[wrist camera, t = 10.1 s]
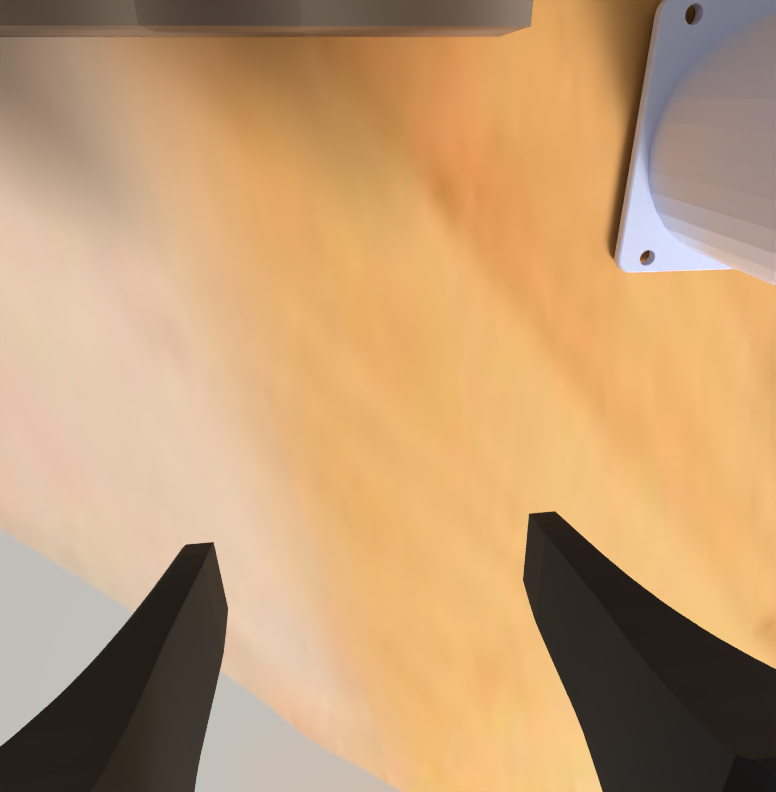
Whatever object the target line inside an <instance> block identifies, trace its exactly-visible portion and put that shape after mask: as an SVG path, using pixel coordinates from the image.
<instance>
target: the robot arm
mask: <svg viewBox="0 0 776 792" xmlns="http://www.w3.org/2000/svg"><path fill="white" fill-rule="evenodd" d="M690 6H693V7H694V9H695V18H694V21H693V22H692V23H691V24H688V23H687V21H686V20H685V14H686V11H687V9H688V8H689V7H690ZM647 250H649V257H648V259H647V260H646V261H645V262H642V263H640V257H641V254H642V253H643V252H645V251H647ZM615 263H616V265H617V267H619V268H620V269H621V270H623V271H625V272H660V271H689V270H718V269H737V270H739V271H741V272H744V273H746V274H748V275H751V276H753V277H755V278H758V279H760V280H762V281H765V282H767V283H769V284H772V285H774V286H776V0H663V1H662V2H661V3H660V5H659V6H658V7H657V10H656V13H655V17H654V23H653V29H652V35H651V41H650V47H649V53H648V59H647V65H646V71H645V77H644V83H643V89H642V95H641V101H640V107H639V113H638V119H637V125H636V131H635V137H634V143H633V149H632V155H631V161H630V167H629V173H628V179H627V185H626V191H625V197H624V203H623V209H622V215H621V221H620V227H619V233H618V239H617V245H616V251H615ZM523 582H524V585H525V589H526V592H527V596H528V599H529V602H530V606H531V609H532V612H533V615H534V618H535V621H536V624H537V626H538V629H539V631H540V633H541V636H542V638H543V640H544V642H545V645H546V647H547V649H548V652H549V654H550V656H551V658H552V661H553V663H554V665H555V667H556V670H557V672H558V674H559V676H560V679H561V681H562V683H563V685H564V688H565V690H566V692H567V695H568V697H569V699H570V701H571V704H572V706H573V708H574V710H575V713H576V715H577V718H578V720H579V723H580V725H581V728H582V730H583V733H584V736H585V739H586V742H587V745H588V748H589V751H590V754H591V757H592V760H593V763H594V766H595V769H596V772H597V775H598V778H599V781H600V784H601V788H602V791H603V792H776V669H774V668H772V667H770V666H769V665H767V664H765V663H763V662H761V661H759V660H757V659H755V658H753V657H751V656H749V655H748V654H746V653H744V652H742V651H740V650H739V649H737V648H735V647H733V646H732V645H730V644H728V643H726V642H724V641H723V640H721V639H719V638H718V637H716V636H714V635H713V634H711V633H709V632H708V631H706V630H704V629H703V628H701V627H700V626H698V625H697V624H695V623H693V622H692V621H690V620H689V619H687V618H686V617H684V616H683V615H681V614H680V613H678V612H677V611H675V610H674V609H672V608H671V607H669V606H668V605H667V604H665V603H664V602H662V601H661V600H659V599H658V598H657V597H656V596H654V595H653V594H652V593H650V592H649V591H648V590H646V589H645V588H644V587H642V586H641V585H640V584H638V583H637V582H636V581H634V580H633V579H632V578H631V577H629V576H628V575H627V574H626V573H624V572H623V571H622V570H621V569H620V568H618V567H617V566H616V565H615V564H614V563H612V562H611V561H610V560H609V559H608V558H607V557H605V556H604V555H603V554H602V553H601V552H600V551H598V550H597V549H596V548H595V547H594V546H593V545H592V544H591V543H589V542H588V541H587V540H586V539H585V538H584V537H583V536H582V535H581V534H579V533H578V532H577V531H576V530H575V529H574V528H573V527H572V526H571V525H570V524H568V523H567V522H566V521H565V520H564V519H563V518H562V517H561V516H560V515H558V514H557V513H556V512H543V513H532V514H529V521H528V532H527V543H526V554H525V565H524V576H523ZM227 615H228V606H227V602H226V597H225V593H224V588H223V583H222V579H221V574H220V570H219V565H218V560H217V556H216V551H215V547H214V542H211V543H200V544H188V545H185V546H184V547H183V548H182V549H181V551H180V552H179V554H178V555H177V556H176V558H175V559H174V561H173V562H172V563H171V565H170V566H169V567H168V569H167V570H166V572H165V573H164V574H163V576H162V577H161V578H160V580H159V581H158V582H157V584H156V585H155V587H154V588H153V589H152V591H151V592H150V593H149V594H148V596H147V597H146V598H145V600H144V601H143V602H142V603H141V605H140V606H139V607H138V608H137V610H136V611H135V612H134V614H133V615H132V616H131V617H130V619H129V620H128V621H127V622H126V624H125V625H124V626H123V627H122V628H121V630H120V631H119V632H118V633H117V634H116V635H115V636H114V637H113V639H112V640H111V641H110V642H109V643H108V644H107V646H106V647H105V648H104V649H103V650H102V651H101V653H100V654H99V655H98V656H97V657H96V658H95V659H94V660H93V661H92V663H90V665H89V666H88V667H87V668H86V669H85V670H84V671H83V672H82V673H81V674H80V675H79V676H78V677H77V678H76V679H75V680H74V681H73V682H72V683H71V684H70V685H69V686H68V687H67V688H66V689H65V690H64V691H63V692H62V693H61V694H60V695H59V696H58V697H57V698H56V699H55V700H54V701H52V702H51V703H50V704H49V705H48V706H47V707H46V708H45V709H43V711H41V712H40V713H39V714H38V715H37V716H36V717H34V718H33V719H32V720H31V721H30V722H29V723H28V724H27V725H25V726H24V727H23V728H22V729H21V730H20V731H19V732H17V733H16V734H15V735H14V736H13V737H12V738H10V739H9V740H8V741H7V742H5V743H4V744H3V745H2V746H0V792H194V790H195V783H196V776H197V771H198V765H199V760H200V755H201V750H202V746H203V742H204V737H205V733H206V729H207V724H208V720H209V715H210V711H211V707H212V702H213V698H214V694H215V689H216V685H217V680H218V676H219V671H220V667H221V662H222V658H223V653H224V644H225V636H226V626H227Z"/></svg>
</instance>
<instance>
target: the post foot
mask: <svg viewBox="0 0 776 792" xmlns="http://www.w3.org/2000/svg"><path fill="white" fill-rule="evenodd" d="M532 6H533V0H0V37H171V36H502V35H505V34H508V33H511V32H514V31H517V30H520V29H523V28H527V27H530V26H531V18H532Z"/></svg>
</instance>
